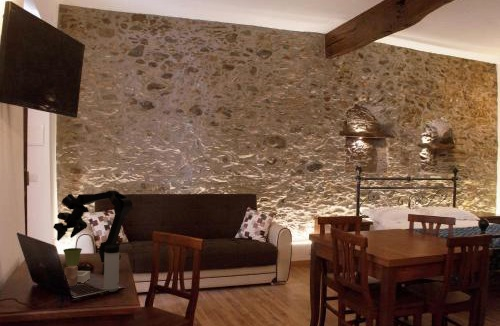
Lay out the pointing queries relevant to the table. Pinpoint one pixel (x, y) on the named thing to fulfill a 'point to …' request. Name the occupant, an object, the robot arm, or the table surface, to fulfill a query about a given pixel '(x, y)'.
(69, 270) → the peg
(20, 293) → the table surface
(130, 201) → the robot arm
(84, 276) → the socket block
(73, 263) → the plant pot
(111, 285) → the travel mug
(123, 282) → the table surface
